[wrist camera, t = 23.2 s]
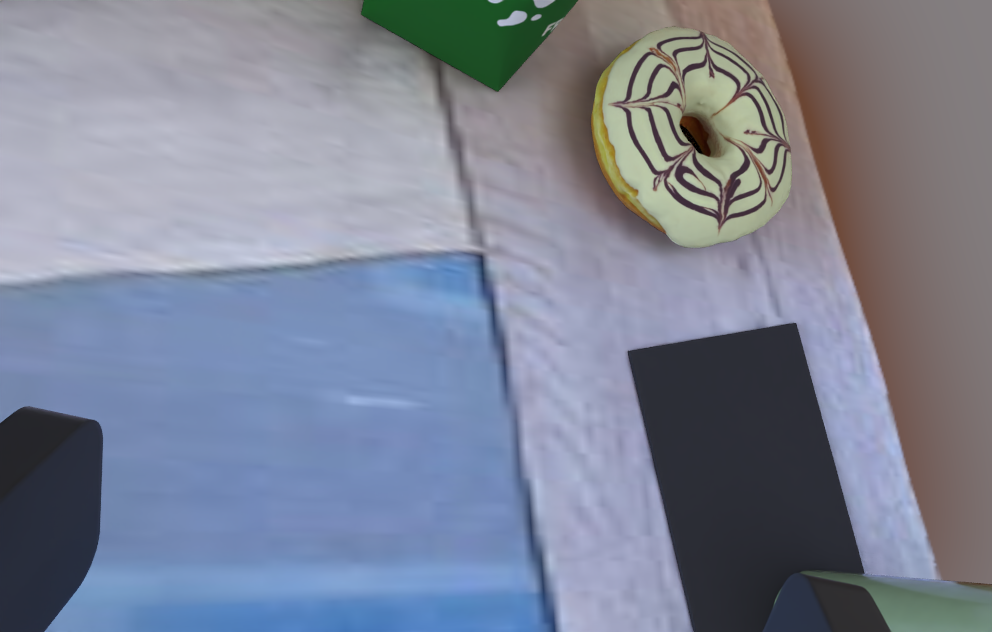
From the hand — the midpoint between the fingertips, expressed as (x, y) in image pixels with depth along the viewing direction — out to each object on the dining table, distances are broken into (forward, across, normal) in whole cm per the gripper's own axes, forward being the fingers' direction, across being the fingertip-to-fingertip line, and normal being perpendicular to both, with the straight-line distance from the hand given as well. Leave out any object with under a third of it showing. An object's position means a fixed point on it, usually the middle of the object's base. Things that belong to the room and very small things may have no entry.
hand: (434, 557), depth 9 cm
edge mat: (+22, -17, +18) cm, 33 cm away
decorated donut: (+34, -8, 0) cm, 35 cm away
